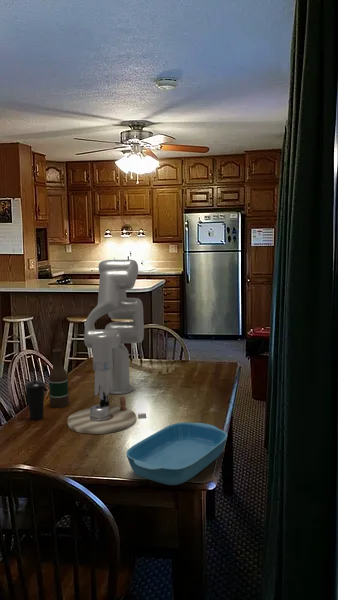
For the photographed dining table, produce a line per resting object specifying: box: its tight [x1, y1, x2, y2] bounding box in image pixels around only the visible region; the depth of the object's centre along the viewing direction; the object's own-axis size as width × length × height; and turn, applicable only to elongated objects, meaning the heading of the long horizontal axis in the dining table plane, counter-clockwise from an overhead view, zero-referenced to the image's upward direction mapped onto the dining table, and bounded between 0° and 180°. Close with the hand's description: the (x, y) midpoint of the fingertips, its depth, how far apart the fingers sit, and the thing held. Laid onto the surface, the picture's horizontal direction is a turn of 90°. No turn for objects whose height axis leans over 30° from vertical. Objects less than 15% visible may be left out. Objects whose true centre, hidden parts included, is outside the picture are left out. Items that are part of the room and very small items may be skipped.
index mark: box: [137, 412, 147, 419], centre depth 203 cm, size 3×1×2 cm, turn 102°
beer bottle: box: [48, 348, 70, 409], centre depth 218 cm, size 8×8×24 cm
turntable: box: [66, 396, 137, 435], centre depth 199 cm, size 26×26×6 cm
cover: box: [89, 404, 110, 421], centre depth 199 cm, size 8×8×4 cm
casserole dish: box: [126, 422, 228, 486], centre depth 161 cm, size 37×22×7 cm, turn 146°
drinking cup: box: [24, 367, 46, 421], centre depth 204 cm, size 8×8×20 cm
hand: (104, 410), depth 205 cm, fingers closed
